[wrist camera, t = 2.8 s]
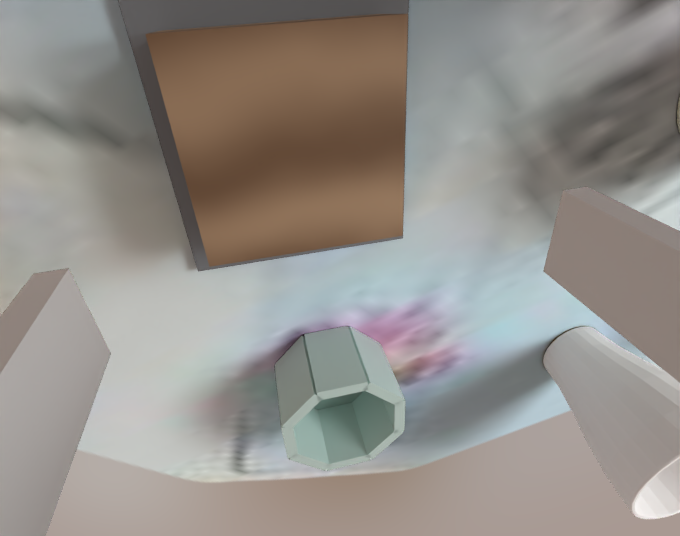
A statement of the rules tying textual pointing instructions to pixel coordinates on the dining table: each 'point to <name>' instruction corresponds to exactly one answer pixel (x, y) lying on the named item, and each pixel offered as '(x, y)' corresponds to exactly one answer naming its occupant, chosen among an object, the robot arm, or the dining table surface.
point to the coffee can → (678, 115)
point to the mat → (209, 11)
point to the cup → (623, 417)
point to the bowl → (337, 399)
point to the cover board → (288, 131)
